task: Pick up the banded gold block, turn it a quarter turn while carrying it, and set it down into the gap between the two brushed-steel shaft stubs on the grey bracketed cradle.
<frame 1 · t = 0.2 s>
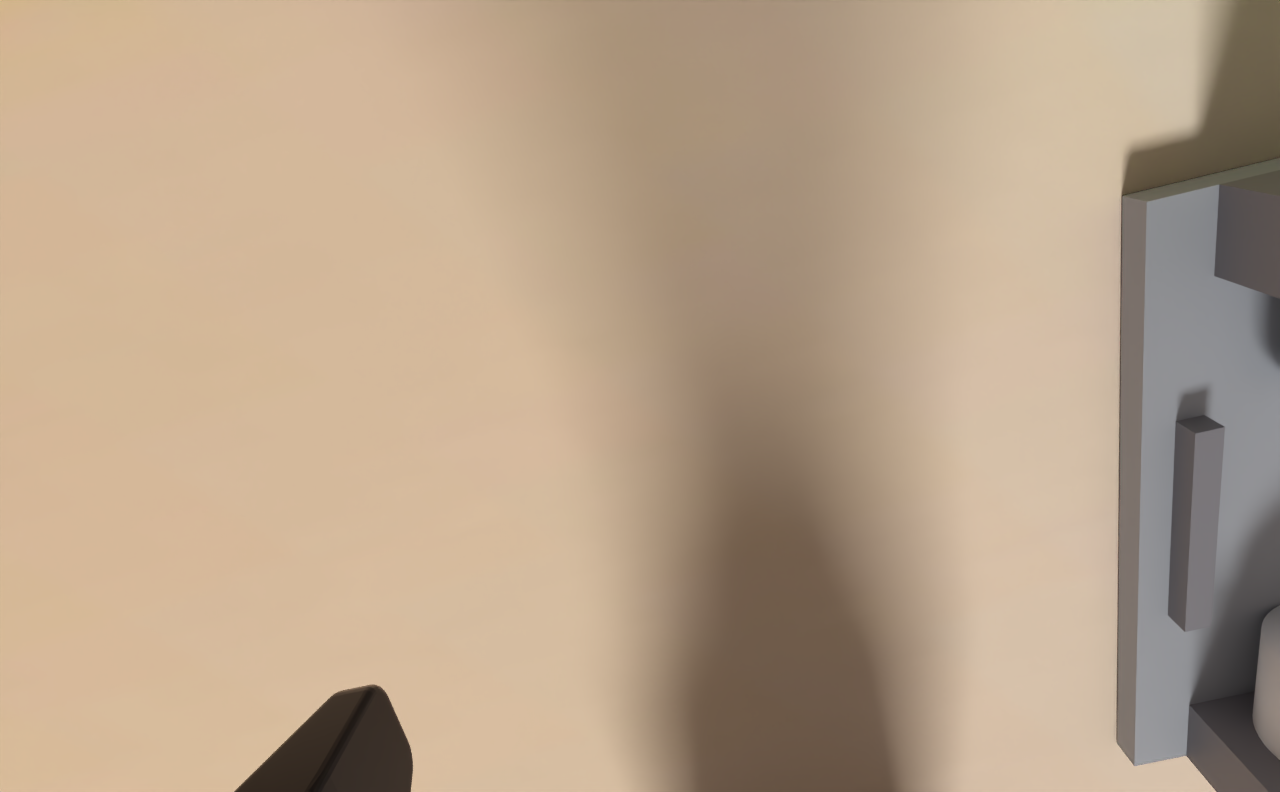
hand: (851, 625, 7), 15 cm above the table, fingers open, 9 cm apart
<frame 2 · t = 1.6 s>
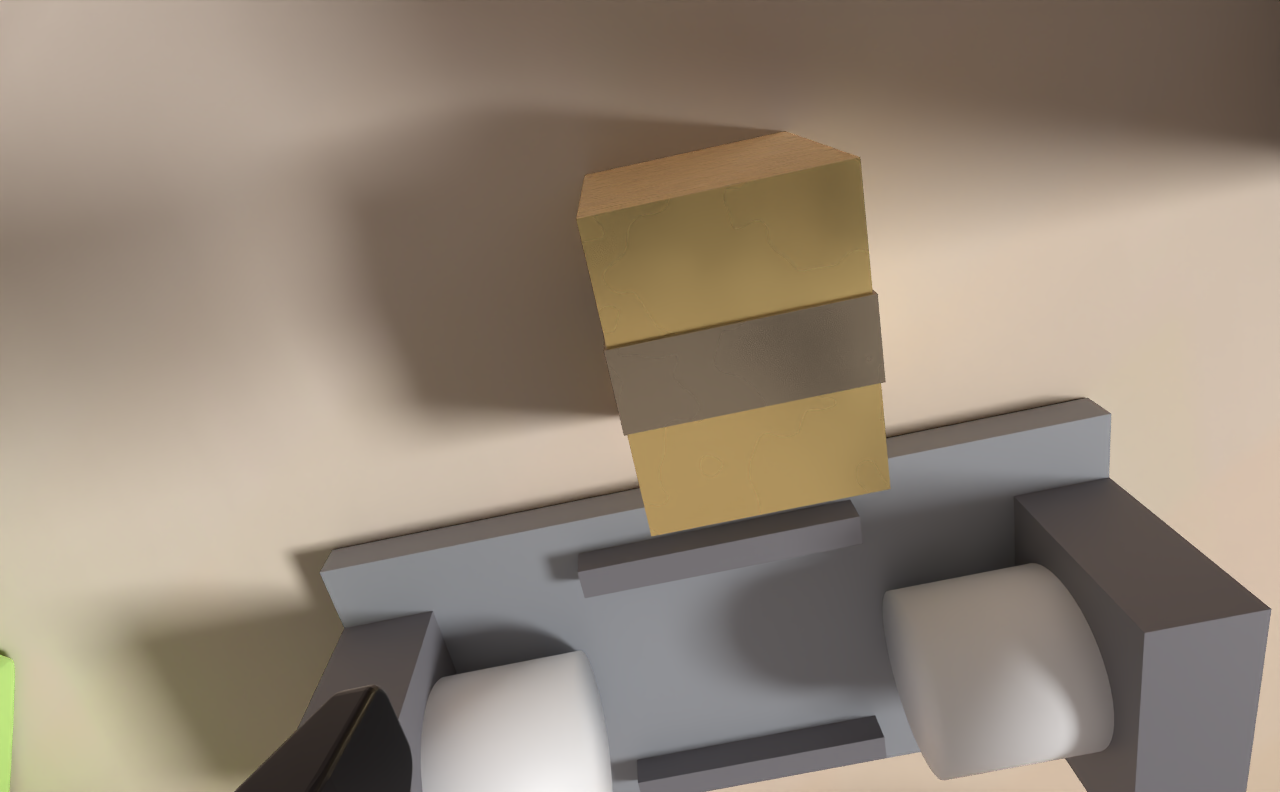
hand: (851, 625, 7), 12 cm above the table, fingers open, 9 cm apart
banded gold block: (707, 283, 18), on the table
grey bracketed cradle: (732, 626, 22), on the table
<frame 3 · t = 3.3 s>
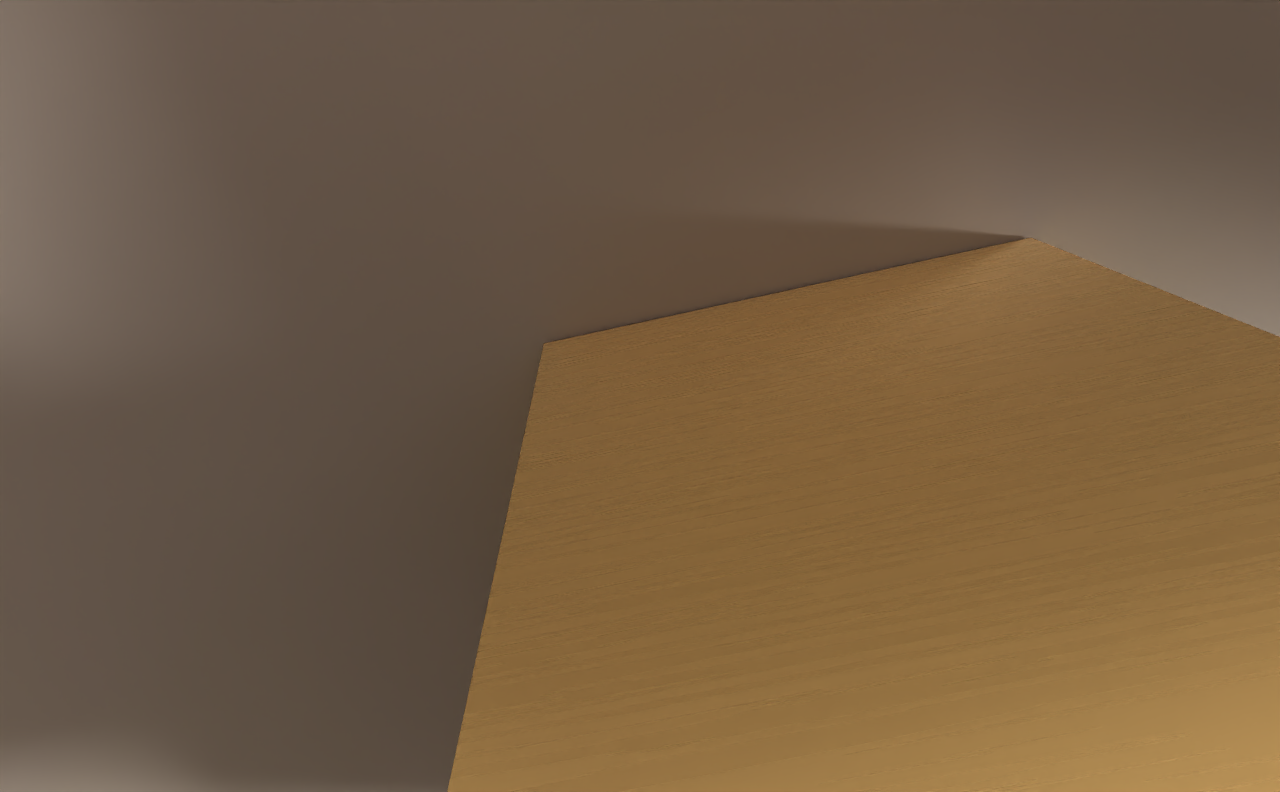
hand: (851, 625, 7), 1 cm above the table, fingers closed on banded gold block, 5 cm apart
banded gold block: (822, 560, 8), on the table, touching gripper
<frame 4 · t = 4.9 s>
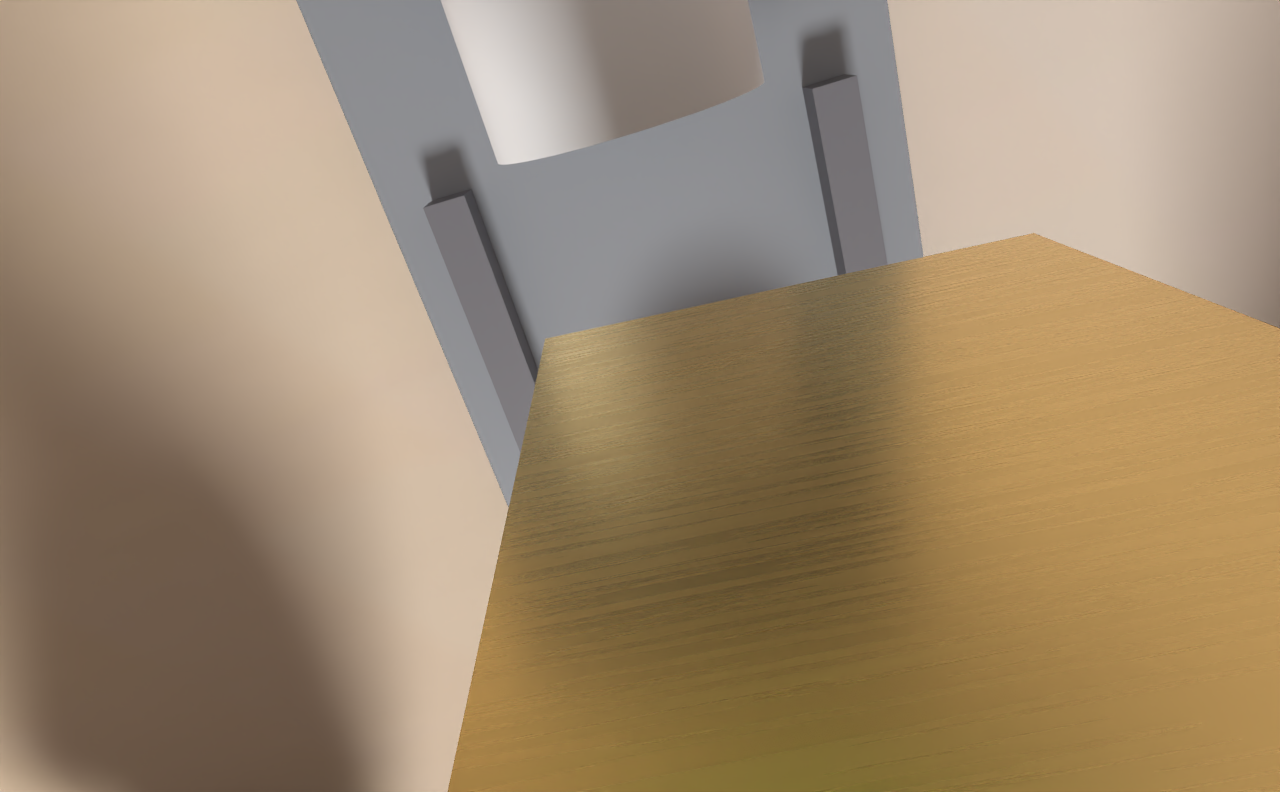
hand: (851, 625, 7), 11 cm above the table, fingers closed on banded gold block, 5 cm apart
banded gold block: (824, 557, 8), point 10 cm above the table, touching gripper
grey bracketed cradle: (677, 295, 17), on the table
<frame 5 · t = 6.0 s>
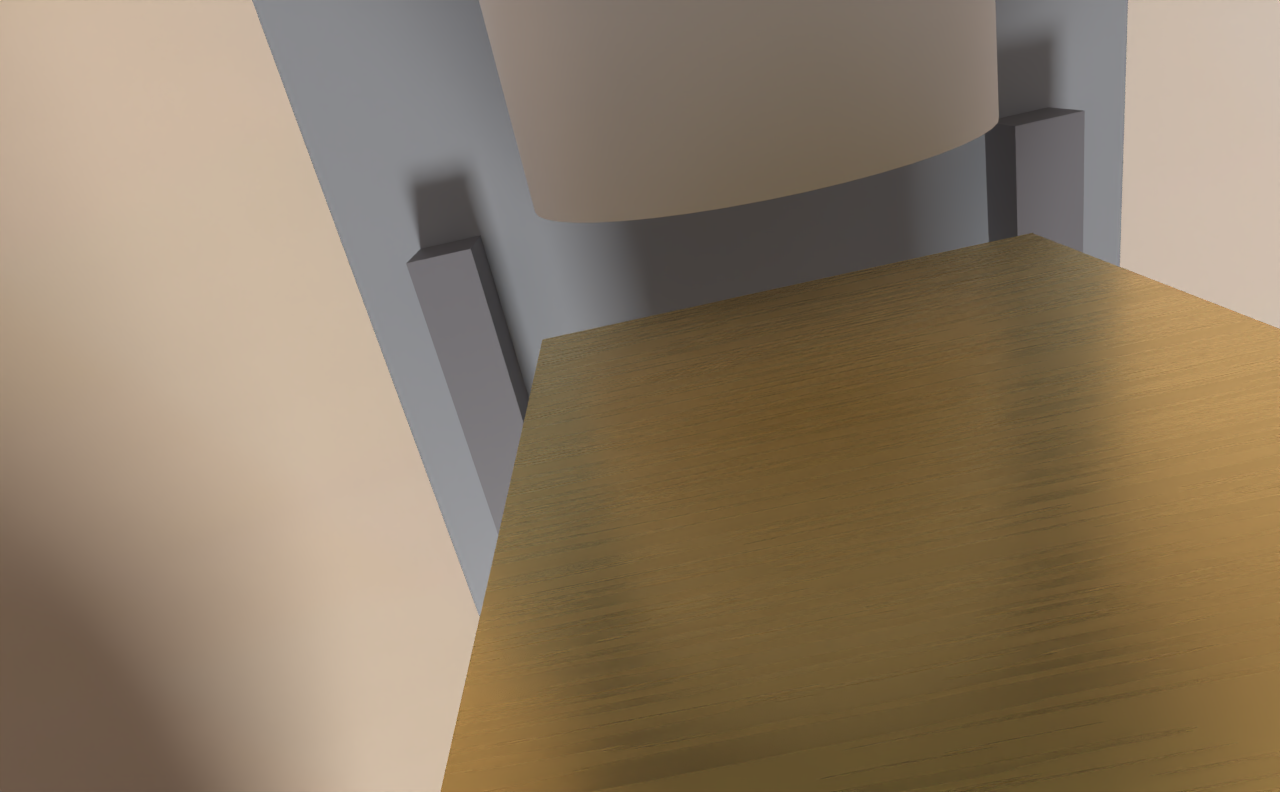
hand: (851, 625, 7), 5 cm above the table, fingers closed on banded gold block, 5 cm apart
banded gold block: (822, 557, 8), point 4 cm above the table, touching gripper
grey bracketed cradle: (756, 396, 12), on the table
when the fingers open (3 cm above the table, at t = 6.7 s): banded gold block drops 1 cm, resting on grey bracketed cradle.
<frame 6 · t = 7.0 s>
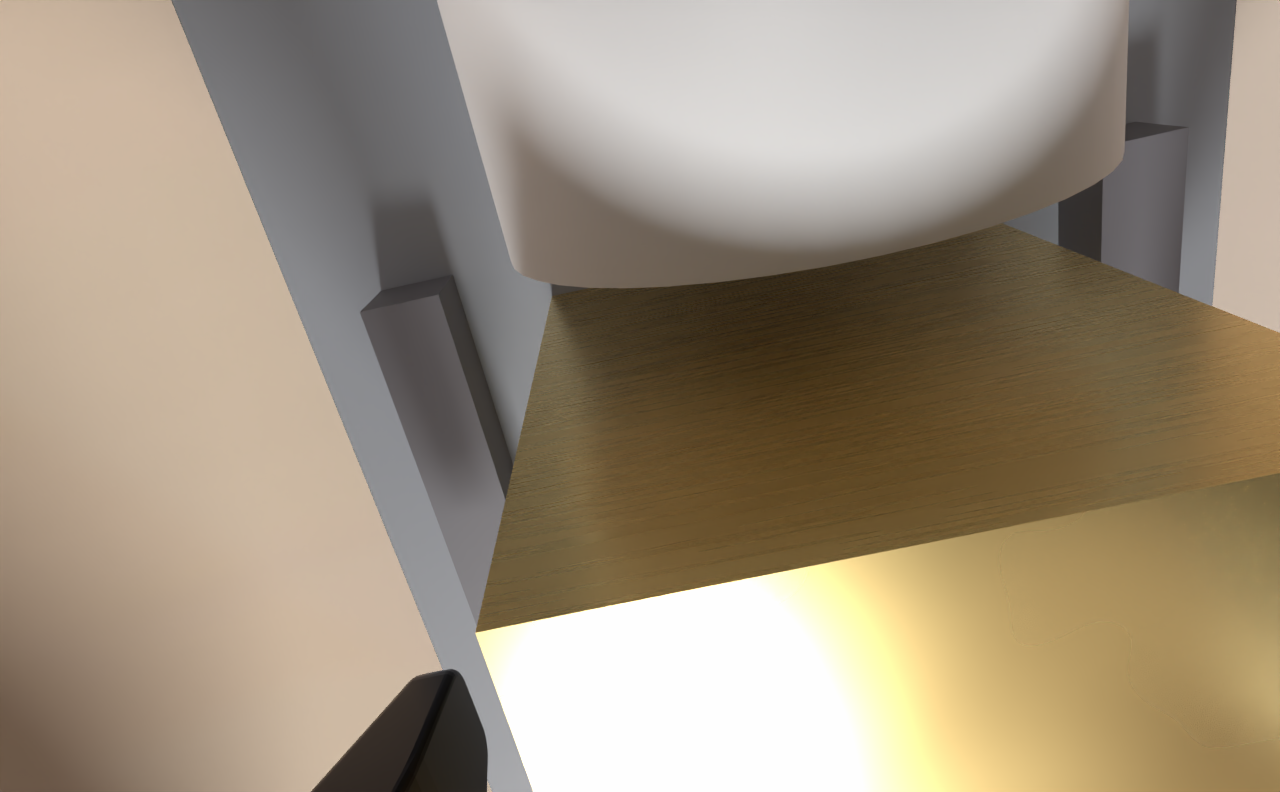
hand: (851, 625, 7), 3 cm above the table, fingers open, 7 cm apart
banded gold block: (790, 488, 10), point 1 cm above the table, touching grey bracketed cradle
grey bracketed cradle: (777, 452, 11), on the table
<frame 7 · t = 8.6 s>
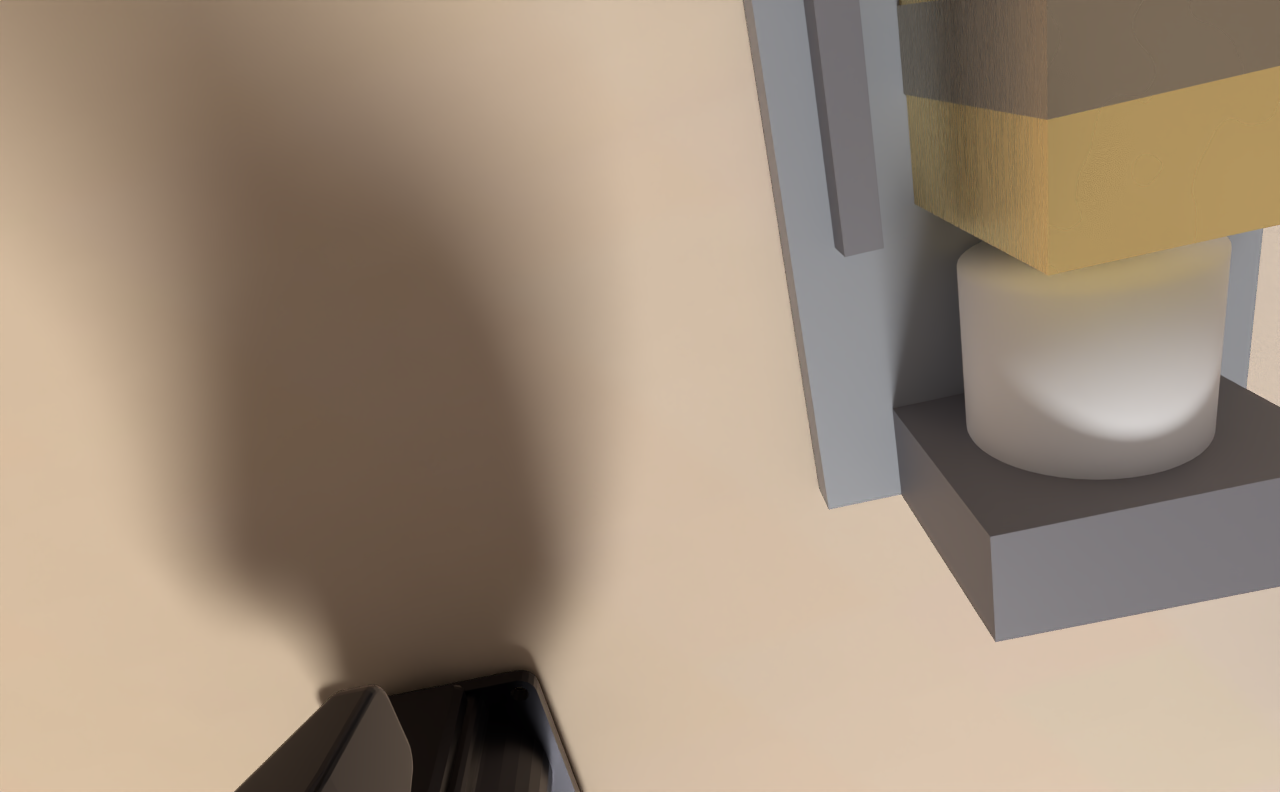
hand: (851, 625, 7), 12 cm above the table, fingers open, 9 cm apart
banded gold block: (1020, 22, 15), point 1 cm above the table, touching grey bracketed cradle
grey bracketed cradle: (998, 24, 16), on the table
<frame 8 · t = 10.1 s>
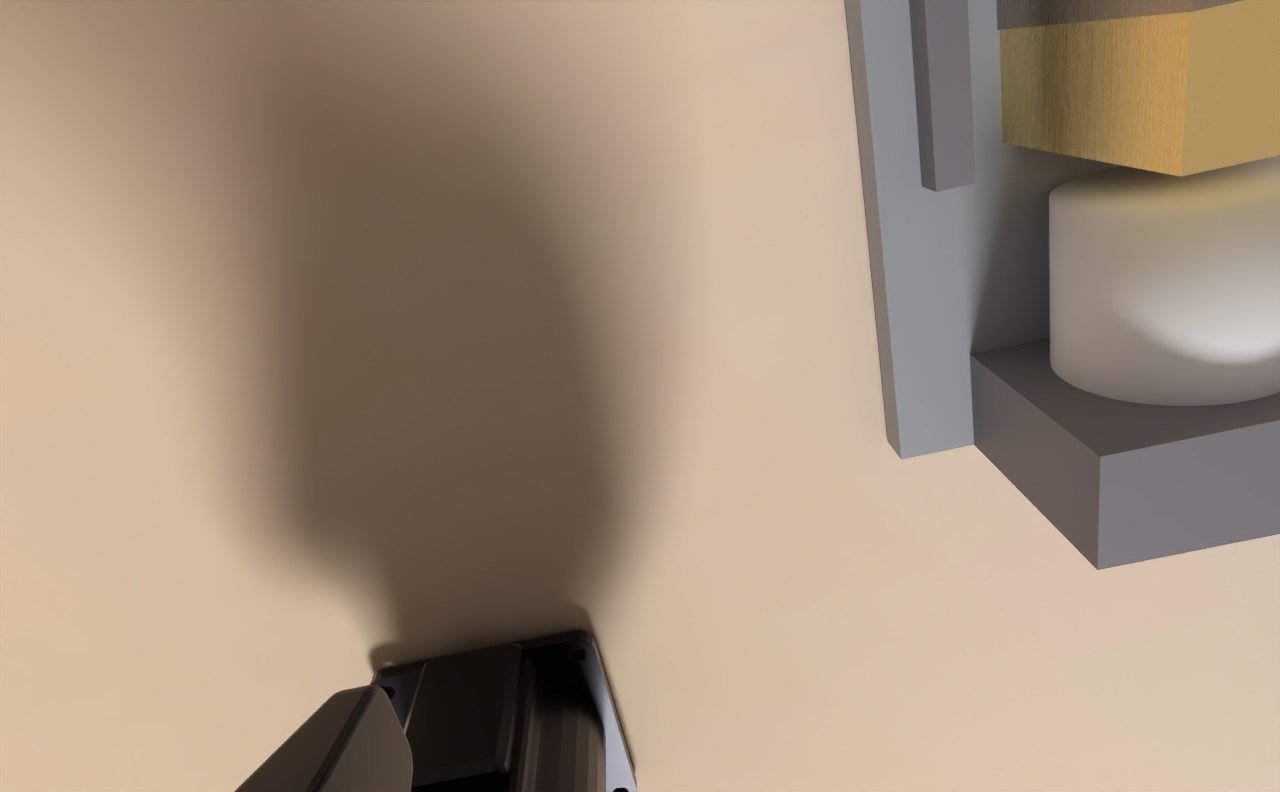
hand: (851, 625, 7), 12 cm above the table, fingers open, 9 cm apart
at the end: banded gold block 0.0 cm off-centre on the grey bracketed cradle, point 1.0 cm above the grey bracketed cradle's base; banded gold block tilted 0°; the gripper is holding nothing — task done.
